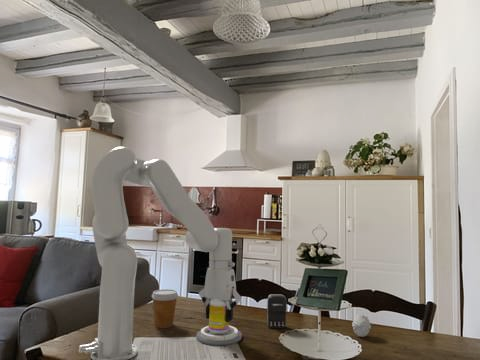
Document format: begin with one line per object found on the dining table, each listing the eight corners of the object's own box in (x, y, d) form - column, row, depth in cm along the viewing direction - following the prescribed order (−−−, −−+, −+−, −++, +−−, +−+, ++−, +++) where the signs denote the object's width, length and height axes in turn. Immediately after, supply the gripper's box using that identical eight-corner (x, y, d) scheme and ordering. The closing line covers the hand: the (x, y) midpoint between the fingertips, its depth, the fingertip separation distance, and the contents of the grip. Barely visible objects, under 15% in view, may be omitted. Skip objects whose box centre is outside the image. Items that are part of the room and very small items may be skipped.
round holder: (210, 349, 107) (210, 341, 107) (188, 334, 119) (188, 327, 120) (250, 339, 115) (250, 332, 115) (226, 327, 128) (226, 321, 128)
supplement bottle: (226, 335, 114) (227, 294, 115) (206, 333, 115) (207, 292, 116) (230, 328, 120) (231, 290, 121) (211, 327, 121) (213, 288, 123)
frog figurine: (373, 335, 122) (372, 314, 122) (368, 341, 116) (367, 319, 117) (355, 331, 125) (354, 311, 126) (349, 337, 119) (349, 315, 120)
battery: (267, 329, 126) (267, 296, 128) (266, 325, 130) (267, 293, 131) (287, 329, 126) (287, 296, 127) (285, 326, 130) (286, 294, 131)
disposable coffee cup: (182, 326, 128) (183, 292, 129) (158, 331, 122) (159, 295, 123) (168, 320, 135) (169, 288, 137) (145, 324, 129) (147, 291, 130)
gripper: (248, 265, 119) (247, 320, 117) (204, 261, 127) (202, 313, 125) (238, 268, 112) (237, 326, 111) (192, 264, 120) (190, 318, 118)
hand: (219, 319), depth 118 cm, fingers open, 6 cm apart
